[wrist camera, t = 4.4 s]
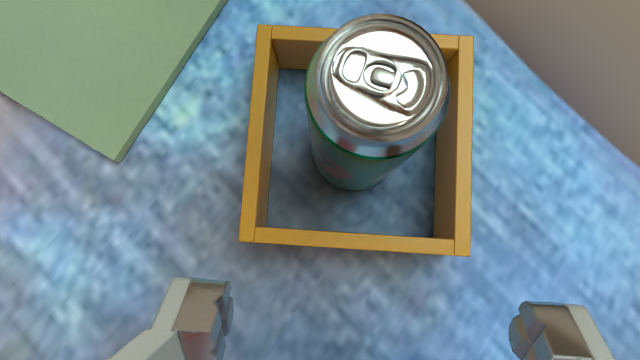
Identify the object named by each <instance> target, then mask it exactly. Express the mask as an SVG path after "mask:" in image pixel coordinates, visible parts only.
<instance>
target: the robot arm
mask: <svg viewBox="0 0 640 360" xmlns="http://www.w3.org/2000/svg"><path fill="white" fill-rule="evenodd" d="M230 291H231V286H230V281H219V280H208V279H197V278H185V277H175V278H174V279H173V280H172V281H171V283H170V285H169V288H168V290H167V292H166V295H165V297H164V299H163V302H162V304H161V306H160V308H159V311H158V313H157V315H156V318H155V320H154V322H153V325H152V327H151V329H145V330H143V331H142V332H141V333H140V334H139V335H137V336H136V337H135V338H134V339H132V340H131V341H130V342H129V343H128V344H126V345H125V346H124V347H123V348H121V349H120V350H119V351H118V352H117V353H115V354H114V355H113V356H112V357H111V358H109V359H108V360H222V359H223V355H224V352H225V348H226V345H225V340H224V337H225V336H226V335H227V334H228V333H229V332H230V328H231V324H232V318H233V299H232V298H231V297H230V296H229V295H230ZM519 312H520V315H518V316H516V317H514V318H513V319H512V321H511V323H510V325H509V341H510V345H511V348H512V351H513V353H514V354H515V355H516V356H517V357H518V358H519V359H520V360H615V359H614V357H613V355H612V354H611V352H610V350H609V348H608V346H607V345H606V343H605V341H604V339H603V337H602V336H601V334H600V332H599V330H598V328H597V326H596V325H595V323H594V321H593V319H592V317H591V316H590V314H589V312H588V310H587V309H586V308H585V307H584V306H583V305H575V304H561V303H549V302H531V301H525V302H523V303H522V304H521V305H520V307H519Z"/></svg>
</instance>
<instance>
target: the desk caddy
mask: <svg viewBox="0 0 640 360" xmlns="http://www.w3.org/2000/svg"><path fill="white" fill-rule="evenodd" d="M336 30H337V29H334V28H316V27H298V26H280V25H273V26H272V25H260V24H259V25H258V26H257V36H256V47H255V58H254V70H253V81H252V92H251V103H250V115H249V126H248V137H247V149H246V160H245V171H244V182H243V194H242V205H241V216H240V228H239V239H238V240H239V241H240V242H255V243H268V244H283V245H299V246H314V247H329V248H345V249H360V250H375V251H390V252H406V253H421V254H436V255H452V256H453V255H454V256H467V257H469V256H470V232H471V173H472V115H473V56H474V36H463V35H459V36H458V35H443V34H430V35H431V36H432V37H433V39H434V40H435V41H436V42H437V44H438V45H439V47H440V49H441V50H442V53H443V55H444V57H445V60H446V64H447V68H448V76H449V82H450V100H449V105H448V109H447V113H446V115H445V118H444V120H443V122H442V124H441V125H440V127H439V129H438V130H437V132H436V164H435V199H434V235H433V238H424V237H409V236H393V235H378V234H362V233H347V232H331V231H316V230H300V229H285V228H269V227H266V224H267V212H268V199H269V187H270V174H271V162H272V149H273V137H274V124H275V112H276V100H277V87H278V75H279V68H285V69H303V70H307V69H308V66H309V63H310V61H311V59H312V57H313V55H314V53H315V52H316V51H317V49H318V48H319V46H320V45H321V44H322V43H323V42H324V41H325V40H326V39H327V38H328V37H329V36H331V35H332V34H333V33H334V32H335V31H336Z"/></svg>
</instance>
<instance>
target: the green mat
mask: <svg viewBox="0 0 640 360" xmlns="http://www.w3.org/2000/svg"><path fill="white" fill-rule="evenodd" d="M227 1H228V0H0V92H2V93H4V94H5V95H7V96H8V97H10V98H12V99H13V100H15V101H17V102H18V103H20V104H22V105H23V106H25V107H26V108H28V109H30V110H31V111H33V112H35V113H36V114H38V115H40V116H41V117H43V118H44V119H46V120H48V121H49V122H51V123H53V124H54V125H56V126H57V127H59V128H61V129H62V130H64V131H66V132H67V133H69V134H71V135H72V136H74V137H75V138H77V139H79V140H80V141H82V142H84V143H85V144H87V145H89V146H90V147H92V148H93V149H95V150H97V151H98V152H100V153H102V154H103V155H105V156H107V157H108V158H110V159H111V160H113V161H116V162H119V163H120V162H121V160H122V159H123V157H124V156H125V154H126V153H127V151H128V150H129V148H130V147H131V145H132V144H133V142H134V141H135V139H136V138H137V136H138V135H139V133H140V132H141V130H142V129H143V127H144V126H145V124H146V123H147V121H148V120H149V118H150V117H151V115H152V114H153V112H154V111H155V109H156V108H157V106H158V105H159V103H160V102H161V100H162V99H163V97H164V96H165V94H166V93H167V91H168V90H169V88H170V87H171V85H172V84H173V82H174V81H175V79H176V77H177V76H178V74H179V73H180V71H181V70H182V68H183V67H184V65H185V64H186V62H187V61H188V59H189V58H190V56H191V55H192V53H193V52H194V50H195V49H196V47H197V46H198V44H199V43H200V41H201V40H202V38H203V37H204V35H205V34H206V32H207V31H208V29H209V28H210V26H211V25H212V23H213V22H214V20H215V19H216V17H217V16H218V14H219V13H220V11H221V10H222V8H223V7H224V5H225V4H226V2H227Z"/></svg>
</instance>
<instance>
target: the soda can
mask: <svg viewBox="0 0 640 360" xmlns="http://www.w3.org/2000/svg"><path fill="white" fill-rule="evenodd" d="M304 90H305V102H306V109H307V116H308V123H309V130H310V138H311V145H312V152H313V157H314V161H315V164H316V167H317V168H318V170H319V172H320V173H321V174H322V176H323V177H324V178H325V179H326V180H327V181H328V182H330V183H331V184H333V185H334V186H337V187H339V188H342V189H345V190H351V191H360V190H365V189H369V188H371V187H374V186H375V185H377V184H379V183H380V182H381V181H383V180H384V179H385V178H386V177H387V176H389V175H390V174H391V173H392V172H393V171H394V170H395V169H397V168H398V167H399V166H400V165H401V164H402V163H403V162H405V161H406V160H407V159H408V158H409V157H410V156H411V155H413V154H414V153H415V152H416V151H417V150H418V149H419V148H421V147H422V146H423V145H424V144H425V143H426V142H427V141H429V140H430V138H431V137H432V136H433V135H434V134H435V133H436V132H437V130H438V129H439V127H440V125H441V124H442V122H443V120H444V118H445V115H446V113H447V109H448V105H449V100H450V82H449V76H448V68H447V64H446V60H445V57H444V55H443V53H442V50H441V49H440V47H439V45H438V44H437V42H436V41H435V40H434V39H433V37H432V36H431V35H430V34H429V33H428V32H427V31H426V30H424V29H423V28H422V27H421V26H419V25H417V24H416V23H414V22H412V21H410V20H408V19H405V18H403V17H399V16H395V15H389V14H371V15H366V16H362V17H359V18H356V19H353V20H351V21H349V22H347V23H346V24H344V25H342V26H341V27H340V28H339V29H337V30H336V31H335V32H334V33H333V34H332V35H331V36H329V37H328V38H327V39H326V40H325V41H324V42H323V43H322V44H321V45H320V46H319V48H318V49H317V51H316V52H315V53H314V55H313V57H312V59H311V61H310V63H309V66H308V69H307V73H306V77H305V85H304Z"/></svg>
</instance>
